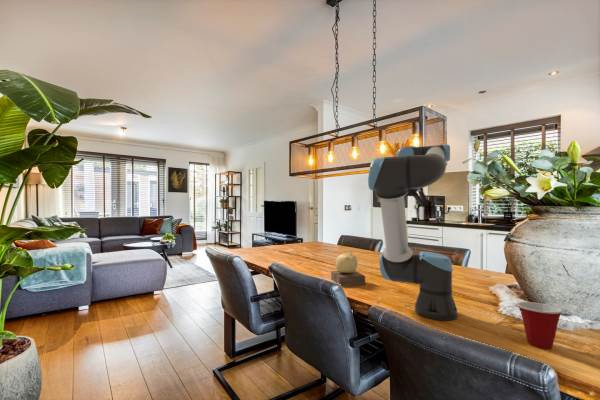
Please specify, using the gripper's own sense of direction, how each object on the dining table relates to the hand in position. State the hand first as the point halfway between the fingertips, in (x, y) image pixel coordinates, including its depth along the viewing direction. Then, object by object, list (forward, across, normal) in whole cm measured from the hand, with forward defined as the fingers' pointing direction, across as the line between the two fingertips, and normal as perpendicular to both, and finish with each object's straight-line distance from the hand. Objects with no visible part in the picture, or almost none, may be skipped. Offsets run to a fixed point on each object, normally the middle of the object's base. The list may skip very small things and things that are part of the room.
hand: (409, 219), depth 143 cm
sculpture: (+30, +26, -18) cm, 44 cm away
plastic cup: (+35, -7, +58) cm, 68 cm away
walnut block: (+35, +26, -18) cm, 47 cm away
